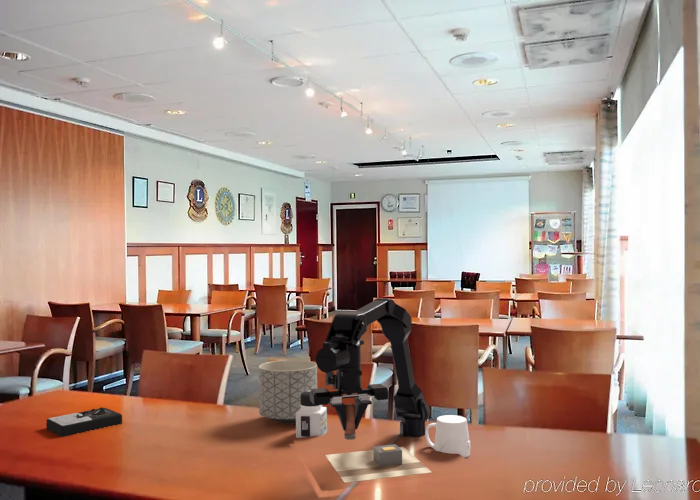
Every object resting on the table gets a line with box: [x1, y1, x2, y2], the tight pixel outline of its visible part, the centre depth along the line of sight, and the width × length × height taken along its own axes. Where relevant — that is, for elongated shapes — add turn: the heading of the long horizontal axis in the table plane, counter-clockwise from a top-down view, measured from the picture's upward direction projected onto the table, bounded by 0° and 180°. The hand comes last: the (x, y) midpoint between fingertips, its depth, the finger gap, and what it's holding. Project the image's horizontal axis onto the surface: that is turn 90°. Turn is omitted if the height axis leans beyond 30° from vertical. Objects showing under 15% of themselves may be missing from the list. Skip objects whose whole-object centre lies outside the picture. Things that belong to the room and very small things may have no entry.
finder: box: [372, 443, 402, 467], centre depth 152 cm, size 6×5×4 cm
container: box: [295, 391, 328, 439], centre depth 180 cm, size 8×8×13 cm
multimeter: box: [46, 407, 123, 438], centre depth 192 cm, size 13×19×5 cm
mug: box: [424, 414, 471, 458], centre depth 162 cm, size 12×9×8 cm
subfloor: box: [324, 446, 432, 484], centre depth 151 cm, size 22×20×1 cm
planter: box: [258, 359, 318, 425], centre depth 196 cm, size 19×19×18 cm
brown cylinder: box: [343, 403, 356, 441], centre depth 145 cm, size 3×3×8 cm
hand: (349, 429), depth 145 cm, fingers closed on brown cylinder, 3 cm apart
